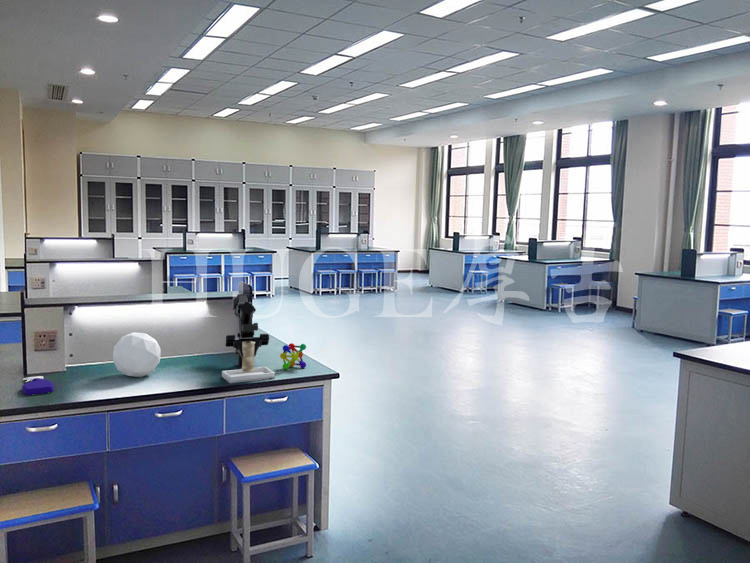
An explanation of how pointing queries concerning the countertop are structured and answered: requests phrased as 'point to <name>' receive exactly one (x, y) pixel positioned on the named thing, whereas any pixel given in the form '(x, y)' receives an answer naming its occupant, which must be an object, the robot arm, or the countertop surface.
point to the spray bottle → (37, 385)
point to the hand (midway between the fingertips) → (248, 356)
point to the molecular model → (293, 356)
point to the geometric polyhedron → (136, 354)
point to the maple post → (248, 356)
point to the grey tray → (247, 375)
